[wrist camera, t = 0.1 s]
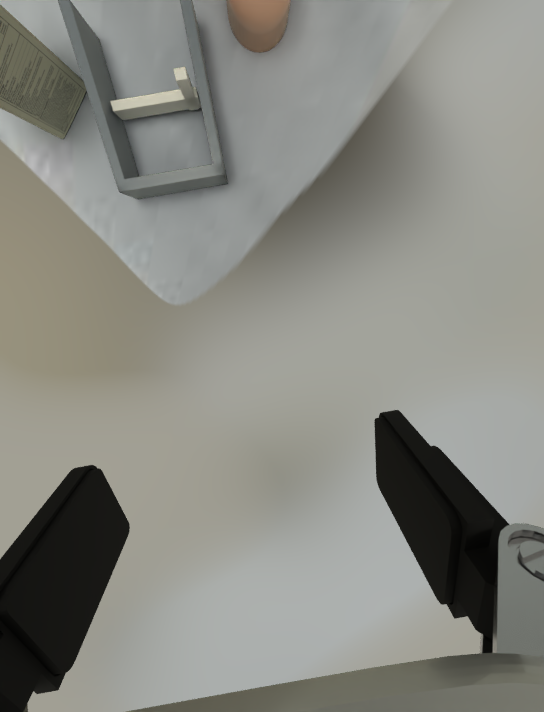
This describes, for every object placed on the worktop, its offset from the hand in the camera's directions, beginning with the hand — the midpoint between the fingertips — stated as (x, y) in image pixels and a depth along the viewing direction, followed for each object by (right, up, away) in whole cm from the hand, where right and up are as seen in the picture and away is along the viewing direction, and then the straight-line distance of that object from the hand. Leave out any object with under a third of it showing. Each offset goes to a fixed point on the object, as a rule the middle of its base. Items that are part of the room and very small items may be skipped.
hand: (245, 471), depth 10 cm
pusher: (-11, +30, +21) cm, 38 cm away
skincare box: (-22, +31, +20) cm, 43 cm away
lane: (-11, +30, +21) cm, 38 cm away
